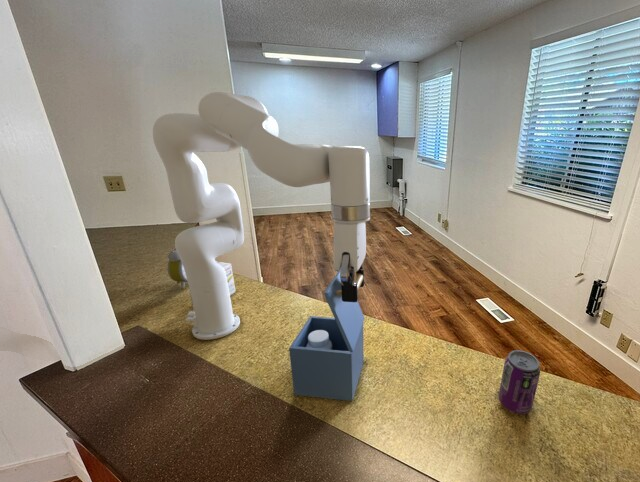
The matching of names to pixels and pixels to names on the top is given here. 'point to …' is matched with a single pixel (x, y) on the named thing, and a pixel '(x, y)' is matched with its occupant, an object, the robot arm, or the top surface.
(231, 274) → the ink box
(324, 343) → the pill bottle
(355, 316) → the lid
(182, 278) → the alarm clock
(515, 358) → the beverage can
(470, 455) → the top surface
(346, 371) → the chest
